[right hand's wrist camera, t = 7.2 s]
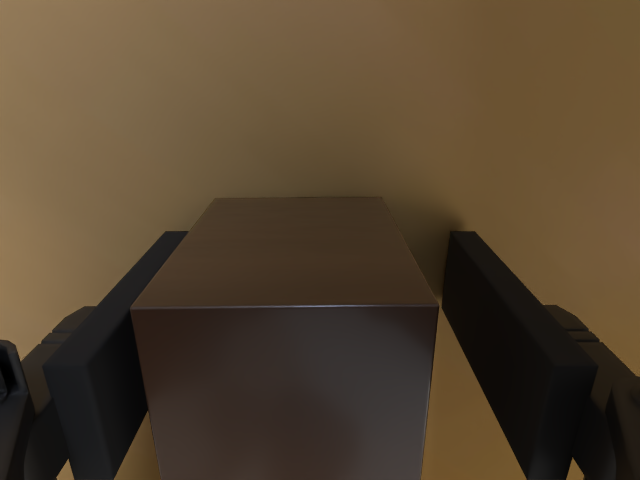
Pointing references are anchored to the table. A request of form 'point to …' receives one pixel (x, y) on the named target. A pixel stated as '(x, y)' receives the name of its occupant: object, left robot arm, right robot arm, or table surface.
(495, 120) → the table surface
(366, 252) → the walnut beam
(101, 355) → the right robot arm
